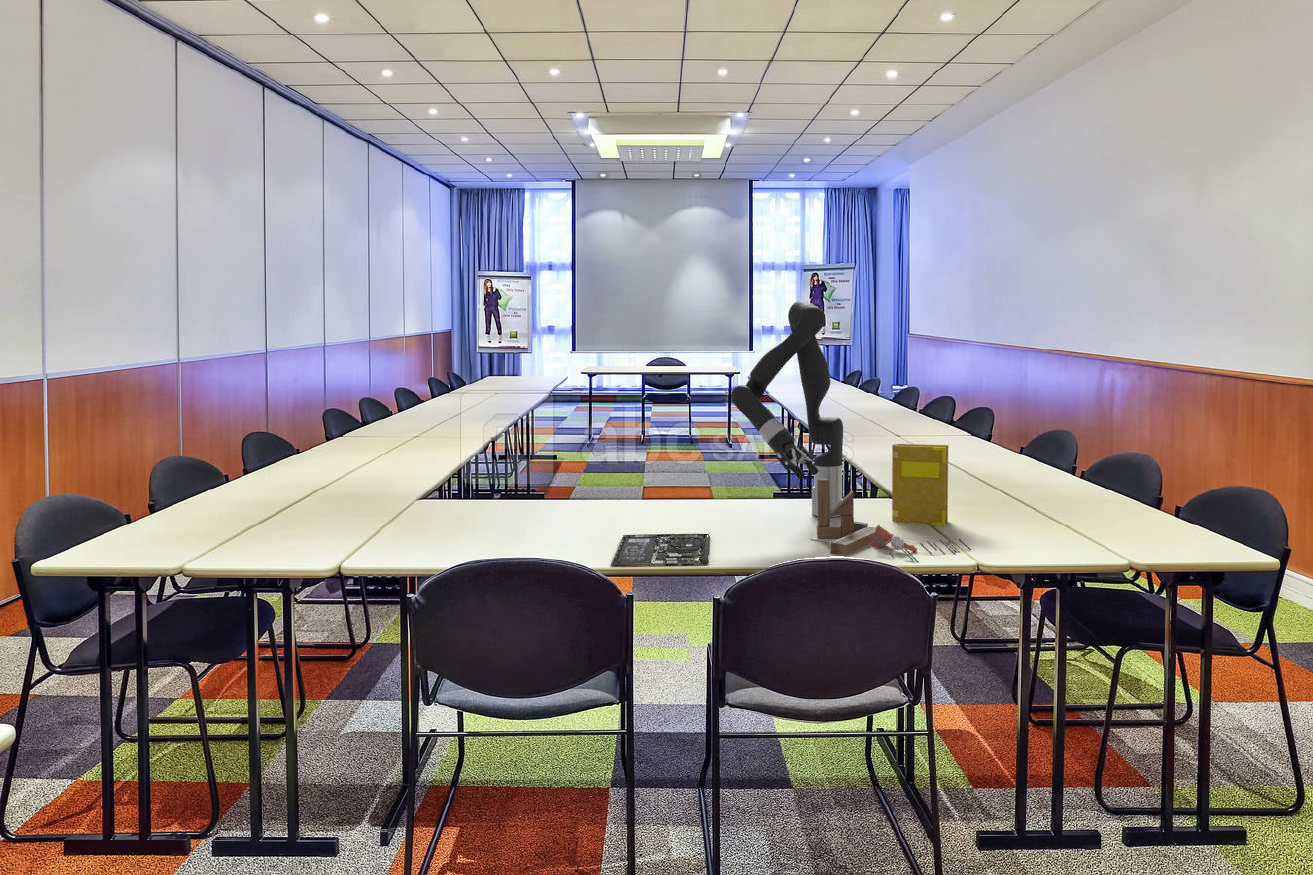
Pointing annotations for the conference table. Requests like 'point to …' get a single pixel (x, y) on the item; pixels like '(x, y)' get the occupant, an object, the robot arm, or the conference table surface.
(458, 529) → the conference table surface
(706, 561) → the laptop interior
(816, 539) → the end pad
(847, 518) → the wooden block
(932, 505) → the book
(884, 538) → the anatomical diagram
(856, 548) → the walnut rail
